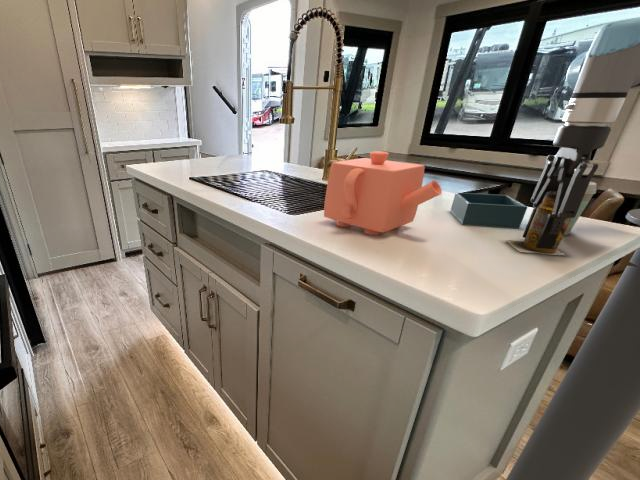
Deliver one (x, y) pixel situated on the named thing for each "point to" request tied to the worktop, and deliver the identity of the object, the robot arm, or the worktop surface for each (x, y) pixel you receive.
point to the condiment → (541, 228)
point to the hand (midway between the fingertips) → (536, 242)
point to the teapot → (376, 192)
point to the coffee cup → (582, 205)
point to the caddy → (488, 210)
